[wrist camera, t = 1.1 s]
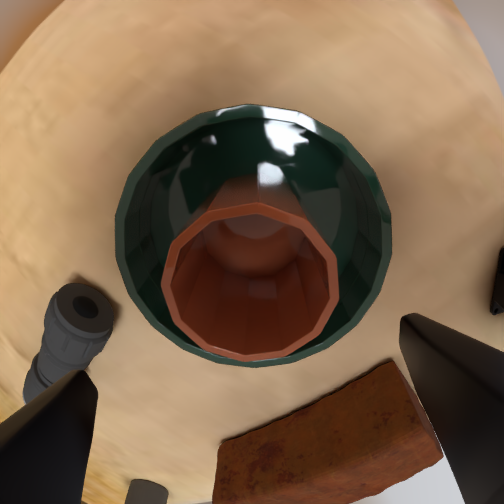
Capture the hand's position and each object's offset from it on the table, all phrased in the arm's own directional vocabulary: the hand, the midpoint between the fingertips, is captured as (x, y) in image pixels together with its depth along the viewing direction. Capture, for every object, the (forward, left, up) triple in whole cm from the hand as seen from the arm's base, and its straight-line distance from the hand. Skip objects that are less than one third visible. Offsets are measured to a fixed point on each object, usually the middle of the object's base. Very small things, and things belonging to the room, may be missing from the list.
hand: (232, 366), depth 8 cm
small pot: (0, 0, -13) cm, 13 cm away
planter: (0, 0, -13) cm, 13 cm away
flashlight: (+18, +8, -13) cm, 24 cm away
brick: (-3, +21, -13) cm, 25 cm away
